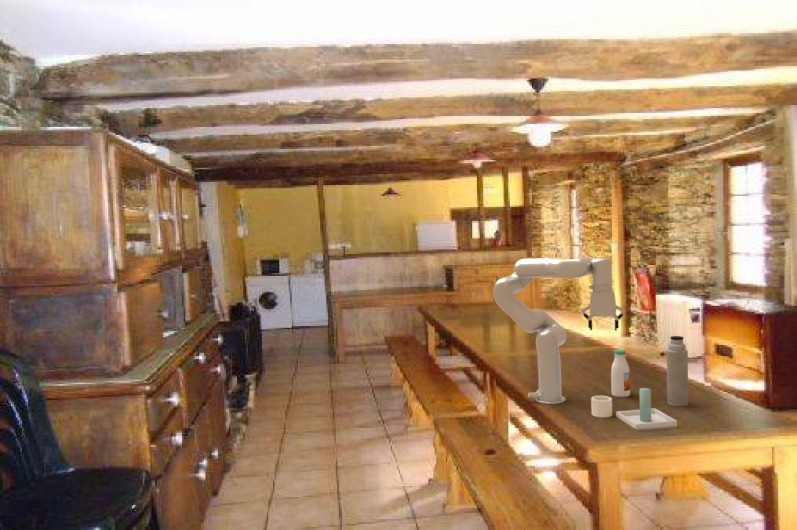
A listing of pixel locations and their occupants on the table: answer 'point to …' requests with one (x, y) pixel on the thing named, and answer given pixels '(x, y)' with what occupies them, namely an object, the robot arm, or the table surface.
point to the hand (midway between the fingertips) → (603, 329)
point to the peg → (645, 404)
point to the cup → (601, 406)
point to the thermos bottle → (677, 372)
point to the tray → (657, 422)
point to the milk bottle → (620, 375)
